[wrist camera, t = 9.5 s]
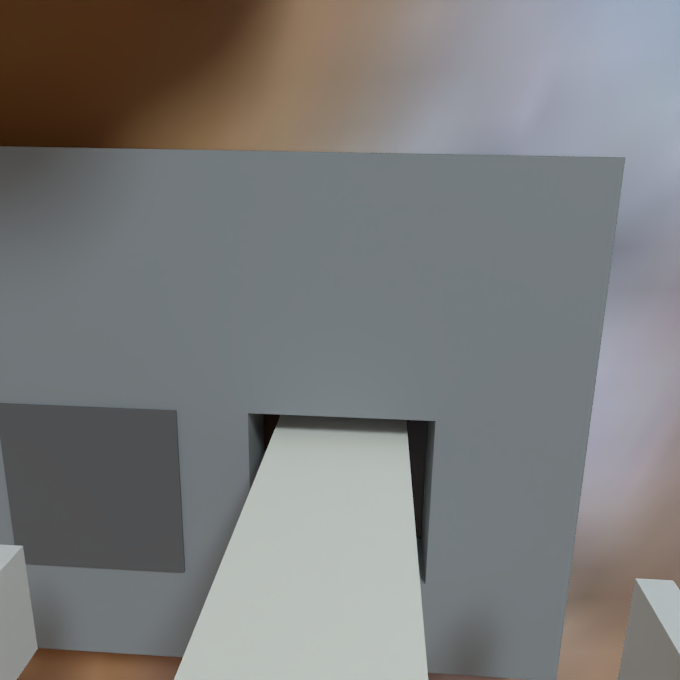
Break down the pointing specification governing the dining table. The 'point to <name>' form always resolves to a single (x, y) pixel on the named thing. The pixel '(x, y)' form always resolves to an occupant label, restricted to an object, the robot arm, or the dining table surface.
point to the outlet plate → (296, 372)
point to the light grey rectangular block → (319, 563)
